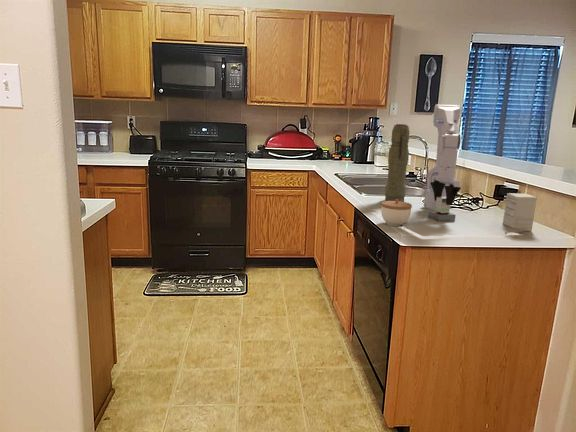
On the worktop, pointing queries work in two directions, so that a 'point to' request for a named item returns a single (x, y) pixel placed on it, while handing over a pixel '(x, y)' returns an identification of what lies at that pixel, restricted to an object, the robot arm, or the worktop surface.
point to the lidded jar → (395, 212)
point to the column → (442, 205)
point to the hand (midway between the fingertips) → (443, 202)
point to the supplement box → (519, 211)
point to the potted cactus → (397, 163)
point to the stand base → (441, 216)
